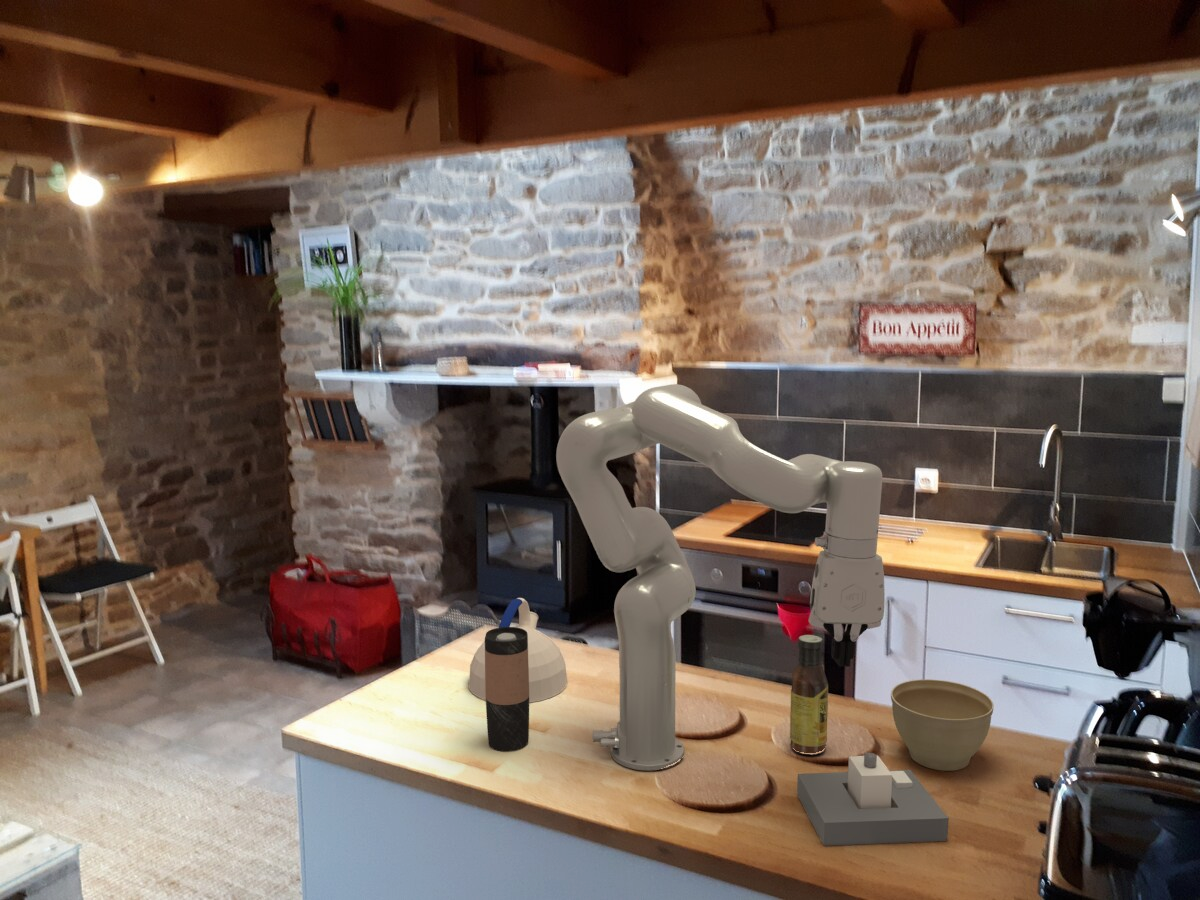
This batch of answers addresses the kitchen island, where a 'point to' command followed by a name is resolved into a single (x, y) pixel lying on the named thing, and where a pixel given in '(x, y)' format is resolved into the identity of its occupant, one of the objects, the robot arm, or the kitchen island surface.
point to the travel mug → (507, 688)
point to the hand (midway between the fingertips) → (841, 662)
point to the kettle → (542, 658)
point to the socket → (871, 811)
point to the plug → (869, 782)
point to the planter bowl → (941, 721)
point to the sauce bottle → (809, 698)
